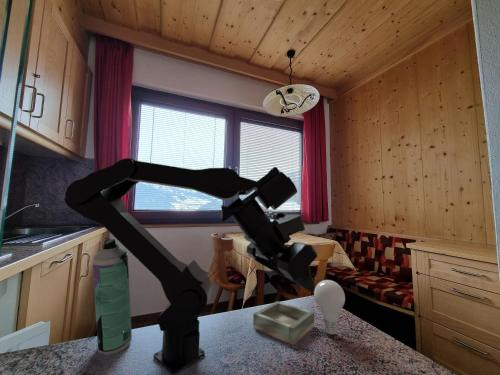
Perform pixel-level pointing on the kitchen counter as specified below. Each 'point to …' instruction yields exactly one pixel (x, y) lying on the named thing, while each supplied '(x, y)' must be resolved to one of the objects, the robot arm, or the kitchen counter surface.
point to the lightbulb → (329, 303)
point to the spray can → (112, 298)
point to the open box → (284, 321)
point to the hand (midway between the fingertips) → (298, 282)
